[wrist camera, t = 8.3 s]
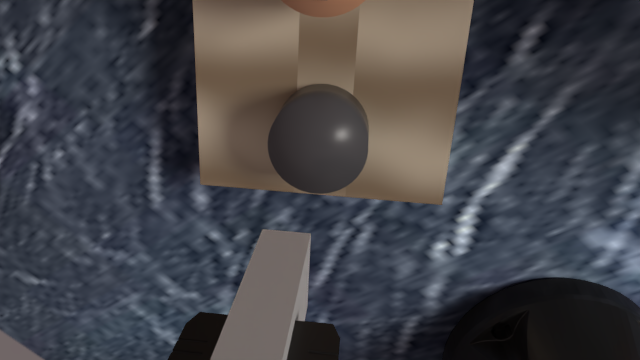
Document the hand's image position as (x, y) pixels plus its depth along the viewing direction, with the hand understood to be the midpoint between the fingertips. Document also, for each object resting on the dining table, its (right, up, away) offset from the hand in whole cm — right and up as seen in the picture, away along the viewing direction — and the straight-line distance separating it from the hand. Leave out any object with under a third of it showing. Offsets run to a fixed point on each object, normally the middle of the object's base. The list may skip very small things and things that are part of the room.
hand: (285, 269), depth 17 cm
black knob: (+2, +7, +16) cm, 18 cm away
